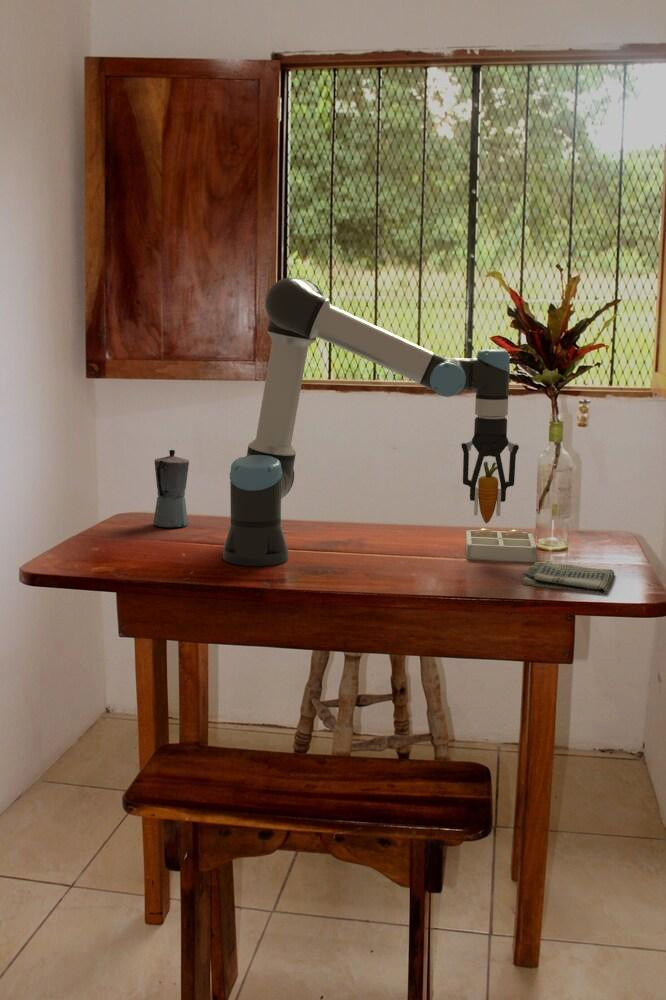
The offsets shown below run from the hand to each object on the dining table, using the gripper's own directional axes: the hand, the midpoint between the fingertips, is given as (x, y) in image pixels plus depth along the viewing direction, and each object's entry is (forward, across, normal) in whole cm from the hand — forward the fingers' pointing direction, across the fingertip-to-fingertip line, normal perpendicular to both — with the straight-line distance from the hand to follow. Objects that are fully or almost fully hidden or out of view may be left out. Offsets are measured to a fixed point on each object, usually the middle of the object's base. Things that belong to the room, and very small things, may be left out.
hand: (486, 514), depth 250 cm
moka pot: (+10, +81, -18) cm, 84 cm away
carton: (+10, -4, -4) cm, 11 cm away
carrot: (+2, 0, 0) cm, 2 cm away
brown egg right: (+10, -7, -8) cm, 14 cm away
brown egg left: (+10, 0, -8) cm, 12 cm away
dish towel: (+11, -18, +18) cm, 28 cm away
